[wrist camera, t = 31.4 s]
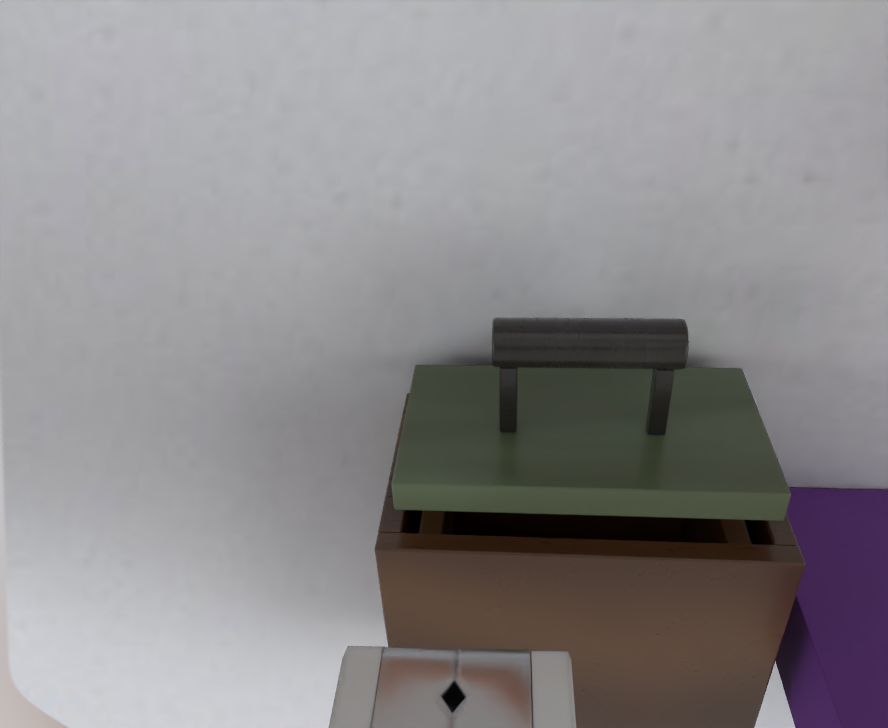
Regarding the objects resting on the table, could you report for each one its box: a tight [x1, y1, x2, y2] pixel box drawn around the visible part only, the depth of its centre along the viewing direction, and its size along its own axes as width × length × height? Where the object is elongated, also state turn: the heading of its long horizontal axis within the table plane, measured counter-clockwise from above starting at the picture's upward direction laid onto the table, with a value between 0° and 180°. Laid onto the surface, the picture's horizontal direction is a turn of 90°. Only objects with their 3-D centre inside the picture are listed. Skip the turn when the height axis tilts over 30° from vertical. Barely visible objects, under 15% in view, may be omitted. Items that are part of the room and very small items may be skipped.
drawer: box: [391, 318, 791, 544], centre depth 30 cm, size 19×12×7 cm, turn 2°
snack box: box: [776, 488, 888, 728], centre depth 29 cm, size 6×4×13 cm, turn 92°
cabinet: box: [375, 393, 806, 728], centre depth 33 cm, size 16×14×9 cm
